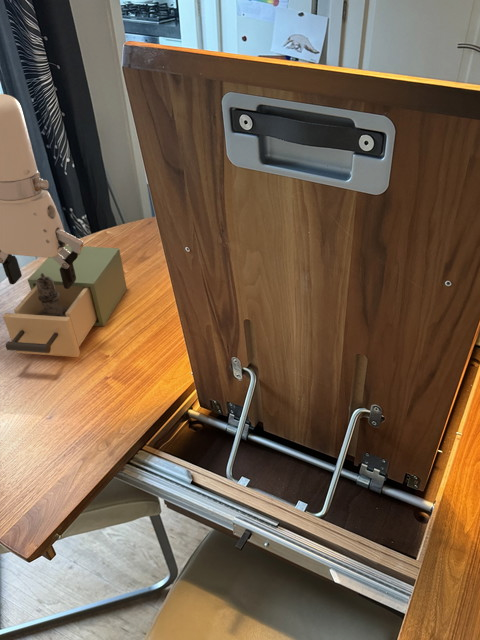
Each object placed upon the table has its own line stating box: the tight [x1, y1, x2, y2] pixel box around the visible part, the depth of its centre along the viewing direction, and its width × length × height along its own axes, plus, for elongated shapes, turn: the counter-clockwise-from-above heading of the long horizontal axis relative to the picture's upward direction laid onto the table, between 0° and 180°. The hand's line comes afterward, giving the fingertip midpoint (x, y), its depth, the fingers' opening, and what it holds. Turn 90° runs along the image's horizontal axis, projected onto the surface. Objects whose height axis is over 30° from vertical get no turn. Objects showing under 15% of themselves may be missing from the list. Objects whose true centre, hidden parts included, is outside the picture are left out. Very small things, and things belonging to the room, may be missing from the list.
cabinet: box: [27, 244, 128, 327], centre depth 104 cm, size 15×13×10 cm
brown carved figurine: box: [36, 273, 69, 317], centre depth 93 cm, size 6×6×12 cm
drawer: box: [2, 285, 98, 358], centre depth 93 cm, size 18×11×8 cm, turn 175°
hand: (43, 282), depth 90 cm, fingers open, 9 cm apart
